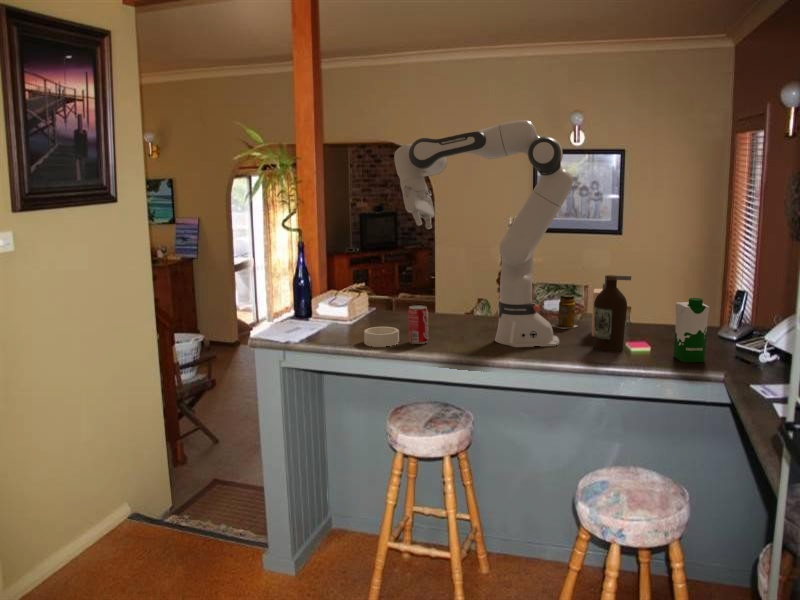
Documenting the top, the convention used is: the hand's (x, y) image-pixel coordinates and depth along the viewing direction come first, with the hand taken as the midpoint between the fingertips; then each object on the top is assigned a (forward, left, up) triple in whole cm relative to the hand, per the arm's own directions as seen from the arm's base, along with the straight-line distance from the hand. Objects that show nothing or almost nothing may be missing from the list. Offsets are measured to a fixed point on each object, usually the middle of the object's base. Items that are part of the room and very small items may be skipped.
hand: (424, 226), depth 248 cm
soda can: (+2, +5, -41) cm, 41 cm away
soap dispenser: (-67, -12, -41) cm, 79 cm away
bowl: (+15, +6, -41) cm, 44 cm away
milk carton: (-86, +20, -41) cm, 97 cm away
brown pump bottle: (-63, +8, -41) cm, 76 cm away
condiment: (-52, -25, -41) cm, 71 cm away
